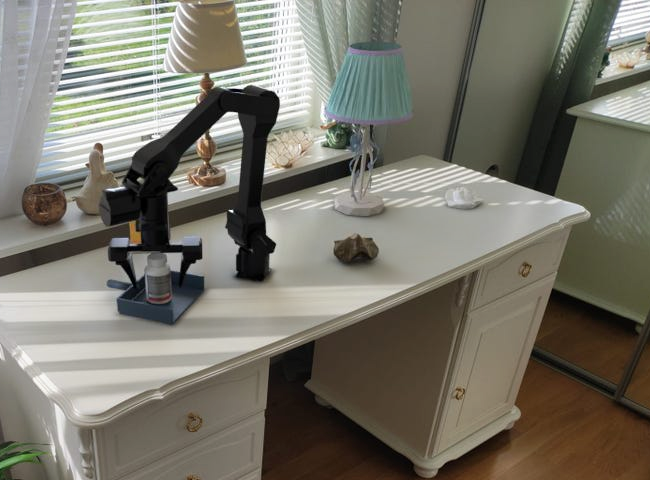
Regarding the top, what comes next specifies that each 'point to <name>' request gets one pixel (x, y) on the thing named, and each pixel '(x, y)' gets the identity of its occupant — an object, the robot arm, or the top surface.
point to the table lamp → (368, 110)
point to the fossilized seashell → (355, 248)
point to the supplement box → (134, 234)
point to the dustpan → (167, 313)
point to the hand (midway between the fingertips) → (157, 287)
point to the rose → (462, 198)
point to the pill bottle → (158, 279)
